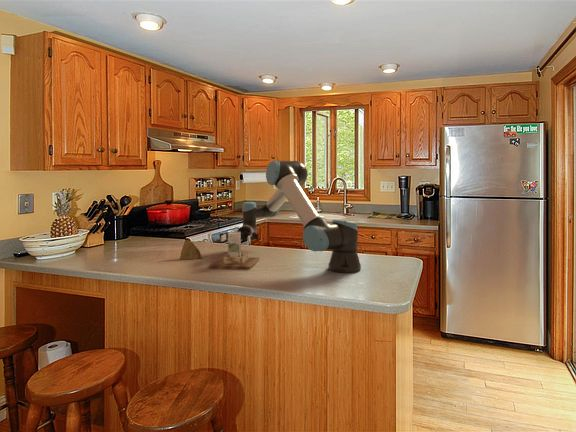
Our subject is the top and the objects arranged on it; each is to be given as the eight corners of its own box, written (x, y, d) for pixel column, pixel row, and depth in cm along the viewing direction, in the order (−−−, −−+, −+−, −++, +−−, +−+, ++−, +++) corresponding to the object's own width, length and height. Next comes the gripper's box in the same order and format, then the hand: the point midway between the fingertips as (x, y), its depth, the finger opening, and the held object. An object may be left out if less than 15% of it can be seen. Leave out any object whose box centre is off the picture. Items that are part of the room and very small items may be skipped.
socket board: (259, 260, 225) (259, 251, 224) (250, 269, 205) (249, 260, 204) (221, 259, 228) (221, 250, 227) (209, 268, 208) (208, 259, 208)
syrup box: (241, 259, 219) (240, 231, 217) (240, 262, 213) (239, 233, 212) (230, 260, 219) (229, 231, 218) (228, 262, 213) (227, 233, 212)
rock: (206, 252, 234) (189, 249, 237) (202, 242, 228) (185, 238, 231) (197, 268, 227) (180, 264, 229) (193, 257, 221) (175, 253, 223)
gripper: (267, 239, 236) (259, 247, 216) (223, 238, 240) (210, 246, 219) (267, 226, 235) (259, 232, 215) (222, 225, 239) (210, 231, 218)
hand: (234, 239), depth 217 cm, fingers open, 13 cm apart
